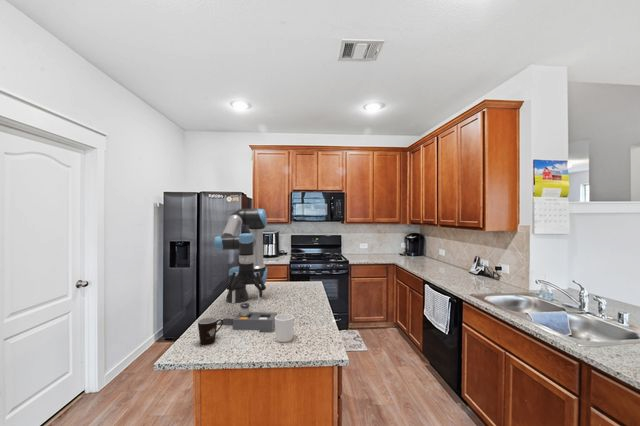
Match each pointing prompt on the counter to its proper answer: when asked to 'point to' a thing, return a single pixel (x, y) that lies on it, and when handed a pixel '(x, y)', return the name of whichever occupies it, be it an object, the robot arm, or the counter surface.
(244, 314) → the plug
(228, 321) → the plate
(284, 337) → the mug
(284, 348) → the counter surface
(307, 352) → the counter surface
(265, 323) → the socket block
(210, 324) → the coffee mug
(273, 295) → the counter surface
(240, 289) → the robot arm
